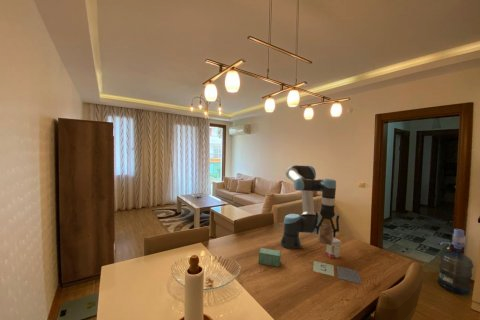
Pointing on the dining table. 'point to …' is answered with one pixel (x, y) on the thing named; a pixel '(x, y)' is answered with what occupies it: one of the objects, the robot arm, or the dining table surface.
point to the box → (269, 257)
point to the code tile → (323, 268)
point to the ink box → (333, 248)
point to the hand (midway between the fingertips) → (325, 240)
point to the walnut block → (326, 234)
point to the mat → (348, 275)
